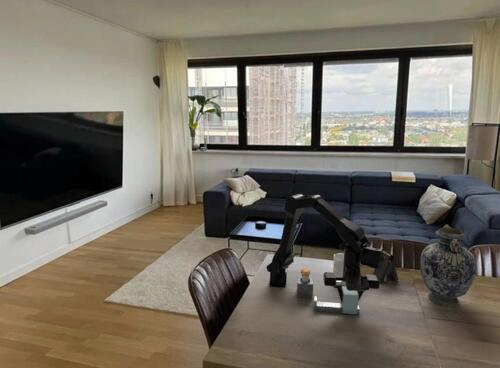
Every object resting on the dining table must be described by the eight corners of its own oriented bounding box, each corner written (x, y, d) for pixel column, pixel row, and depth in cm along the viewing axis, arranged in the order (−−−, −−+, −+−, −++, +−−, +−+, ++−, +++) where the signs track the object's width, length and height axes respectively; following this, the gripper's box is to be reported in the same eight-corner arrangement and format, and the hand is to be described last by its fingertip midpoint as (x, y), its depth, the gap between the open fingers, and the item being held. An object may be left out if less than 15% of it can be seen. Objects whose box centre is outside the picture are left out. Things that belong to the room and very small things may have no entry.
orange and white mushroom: (300, 289, 138) (300, 272, 137) (300, 284, 141) (300, 268, 140) (309, 289, 137) (310, 273, 136) (309, 285, 141) (310, 268, 140)
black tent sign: (379, 283, 150) (382, 256, 148) (371, 276, 156) (373, 251, 153) (398, 280, 152) (400, 254, 150) (389, 274, 158) (392, 249, 155)
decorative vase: (478, 318, 124) (488, 242, 119) (420, 309, 130) (427, 236, 125) (464, 290, 144) (472, 224, 139) (414, 284, 150) (420, 220, 145)
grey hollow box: (296, 297, 137) (297, 283, 136) (296, 290, 143) (297, 276, 142) (312, 298, 137) (313, 284, 136) (311, 291, 143) (312, 277, 141)
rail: (313, 310, 128) (314, 300, 128) (313, 306, 131) (313, 296, 131) (359, 314, 127) (359, 303, 126) (357, 309, 130) (358, 299, 129)
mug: (358, 284, 148) (360, 259, 146) (340, 288, 145) (341, 262, 143) (342, 272, 159) (343, 249, 157) (324, 275, 156) (326, 251, 154)
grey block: (342, 313, 126) (344, 294, 124) (340, 304, 132) (341, 286, 130) (357, 314, 125) (358, 295, 124) (354, 305, 131) (355, 287, 130)
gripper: (327, 269, 118) (324, 312, 121) (385, 273, 116) (381, 316, 119) (324, 256, 129) (322, 296, 132) (377, 259, 127) (374, 299, 130)
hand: (349, 302), depth 128 cm, fingers closed on grey block, 5 cm apart
